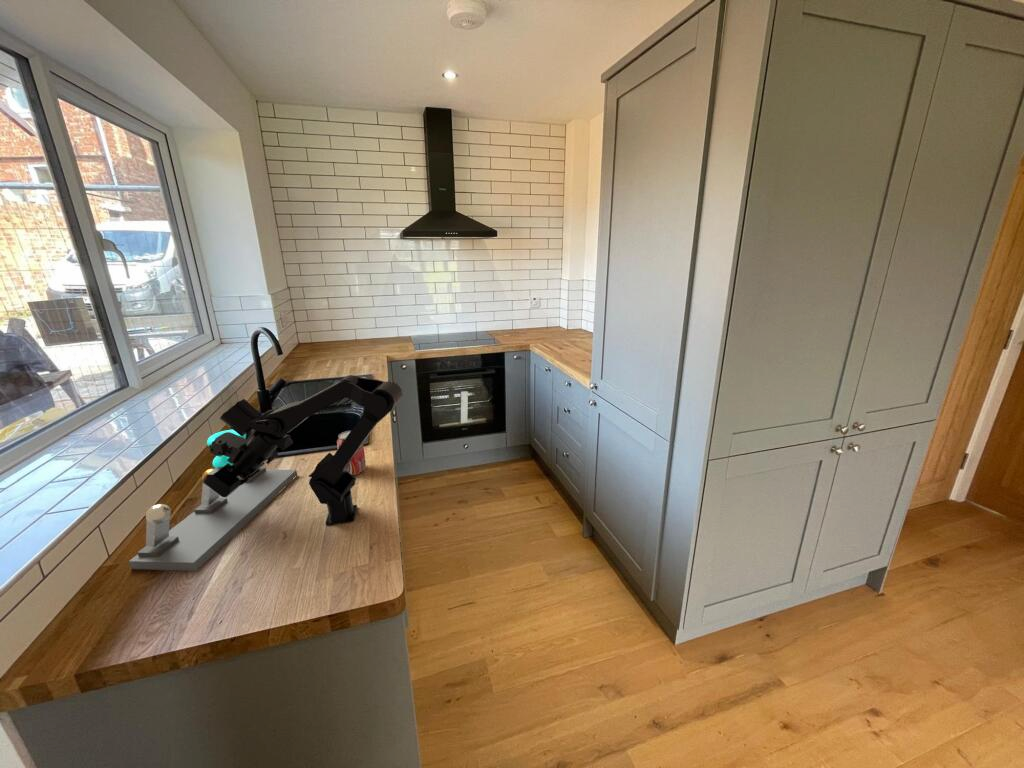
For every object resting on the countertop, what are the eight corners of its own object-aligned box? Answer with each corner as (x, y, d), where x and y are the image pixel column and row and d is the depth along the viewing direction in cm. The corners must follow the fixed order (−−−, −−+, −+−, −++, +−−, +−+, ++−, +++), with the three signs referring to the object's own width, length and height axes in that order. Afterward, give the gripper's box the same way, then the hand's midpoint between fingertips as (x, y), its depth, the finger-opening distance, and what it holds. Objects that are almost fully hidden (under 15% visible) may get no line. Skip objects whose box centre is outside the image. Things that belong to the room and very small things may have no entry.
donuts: (197, 439, 122) (227, 426, 131) (205, 469, 125) (234, 454, 134) (224, 442, 120) (252, 429, 129) (231, 473, 123) (259, 457, 132)
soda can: (340, 468, 124) (335, 432, 121) (365, 463, 127) (360, 427, 123) (342, 479, 118) (336, 441, 114) (367, 473, 121) (362, 436, 117)
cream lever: (174, 536, 89) (176, 503, 87) (158, 549, 86) (160, 514, 83) (156, 531, 89) (157, 497, 86) (139, 544, 85) (140, 509, 83)
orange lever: (224, 498, 104) (226, 468, 101) (212, 507, 100) (214, 476, 97) (208, 493, 103) (210, 463, 101) (196, 502, 100) (198, 471, 97)
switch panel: (297, 475, 120) (295, 466, 119) (196, 570, 84) (192, 558, 83) (251, 475, 121) (249, 466, 120) (131, 569, 85) (127, 557, 84)
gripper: (257, 409, 104) (225, 448, 108) (200, 441, 86) (164, 486, 90) (293, 438, 106) (260, 475, 110) (244, 475, 88) (207, 518, 92)
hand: (225, 487), depth 100 cm, fingers closed
